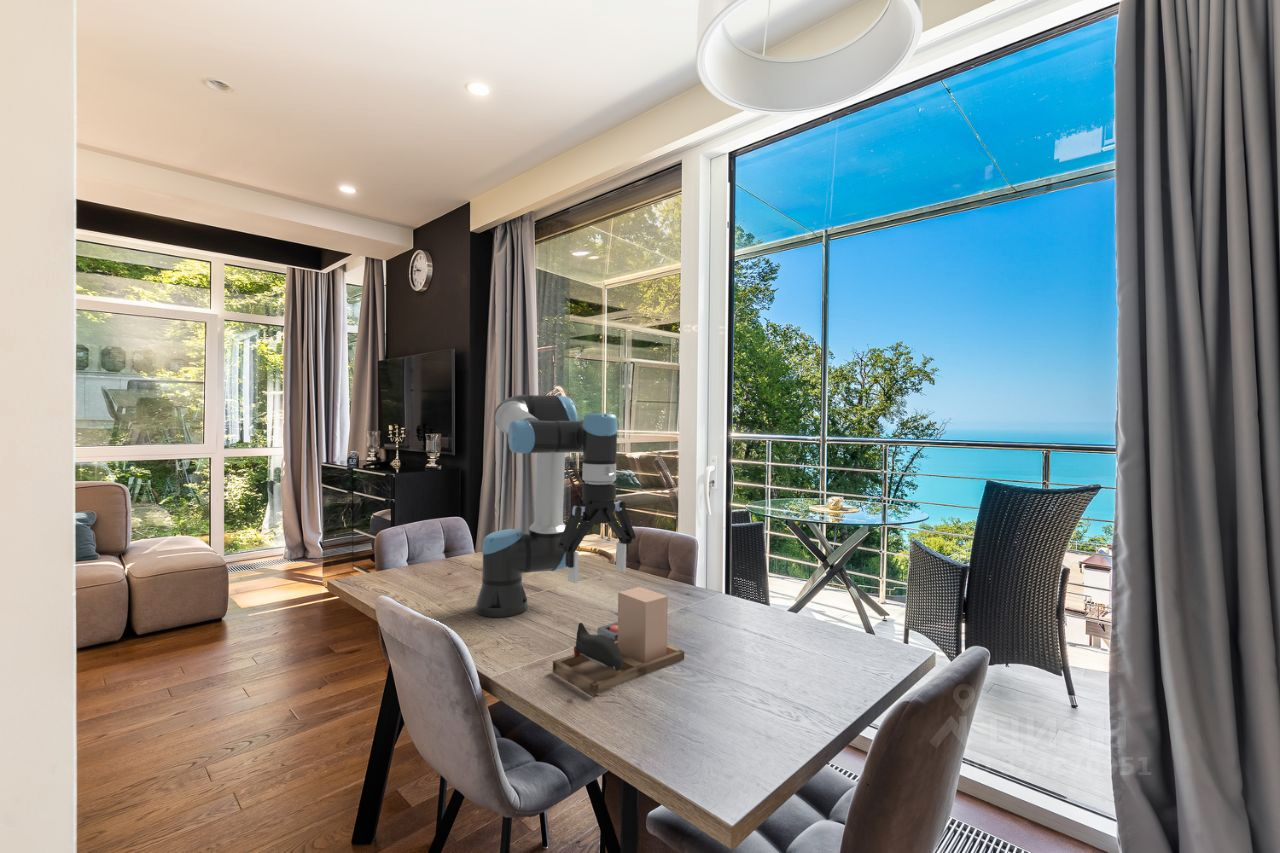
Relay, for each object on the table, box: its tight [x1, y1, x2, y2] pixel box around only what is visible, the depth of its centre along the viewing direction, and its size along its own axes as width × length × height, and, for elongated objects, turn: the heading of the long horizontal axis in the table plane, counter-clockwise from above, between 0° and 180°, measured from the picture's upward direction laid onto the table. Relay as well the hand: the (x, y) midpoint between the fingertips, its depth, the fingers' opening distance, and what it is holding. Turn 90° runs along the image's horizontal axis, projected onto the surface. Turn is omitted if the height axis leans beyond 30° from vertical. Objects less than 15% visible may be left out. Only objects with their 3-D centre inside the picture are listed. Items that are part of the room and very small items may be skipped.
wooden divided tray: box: [552, 641, 685, 698], centre depth 135 cm, size 15×27×3 cm, turn 132°
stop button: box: [610, 625, 618, 633], centre depth 151 cm, size 4×4×3 cm
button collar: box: [597, 621, 618, 642], centre depth 151 cm, size 7×7×3 cm
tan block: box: [617, 586, 669, 664], centre depth 139 cm, size 10×7×15 cm
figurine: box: [573, 622, 623, 676], centre depth 130 cm, size 7×10×15 cm
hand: (597, 576), depth 130 cm, fingers open, 13 cm apart
